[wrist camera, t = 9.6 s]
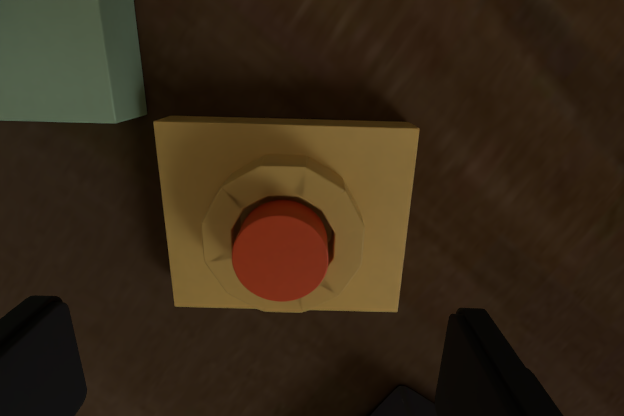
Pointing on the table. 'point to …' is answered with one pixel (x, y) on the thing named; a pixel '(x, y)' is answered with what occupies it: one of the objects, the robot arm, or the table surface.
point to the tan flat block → (287, 186)
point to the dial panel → (70, 61)
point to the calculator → (405, 404)
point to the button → (281, 251)
